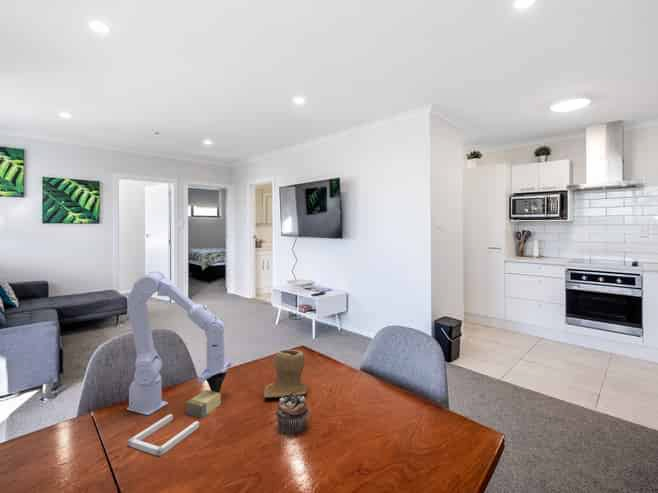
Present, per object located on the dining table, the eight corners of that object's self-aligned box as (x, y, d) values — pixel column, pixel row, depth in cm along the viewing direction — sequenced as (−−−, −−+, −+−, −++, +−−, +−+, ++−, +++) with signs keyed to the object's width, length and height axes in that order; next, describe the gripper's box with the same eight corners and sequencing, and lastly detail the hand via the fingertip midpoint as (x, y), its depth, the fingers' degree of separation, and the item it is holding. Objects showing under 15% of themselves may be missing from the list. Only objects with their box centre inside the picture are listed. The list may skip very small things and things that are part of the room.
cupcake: (314, 423, 104) (314, 391, 103) (295, 440, 95) (295, 405, 95) (289, 414, 109) (289, 383, 108) (268, 429, 100) (268, 396, 100)
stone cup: (304, 383, 130) (304, 344, 130) (308, 399, 119) (308, 356, 118) (264, 386, 128) (264, 347, 127) (263, 402, 116) (263, 359, 115)
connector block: (186, 414, 108) (186, 402, 108) (206, 401, 117) (206, 389, 116) (201, 418, 106) (201, 405, 106) (220, 404, 114) (220, 393, 114)
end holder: (127, 445, 92) (127, 440, 92) (169, 418, 106) (169, 414, 105) (159, 456, 88) (159, 450, 88) (199, 426, 101) (199, 421, 101)
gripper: (210, 365, 108) (210, 407, 108) (238, 349, 121) (238, 387, 122) (192, 361, 110) (192, 402, 111) (221, 347, 124) (222, 384, 124)
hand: (215, 394), depth 117 cm, fingers closed
